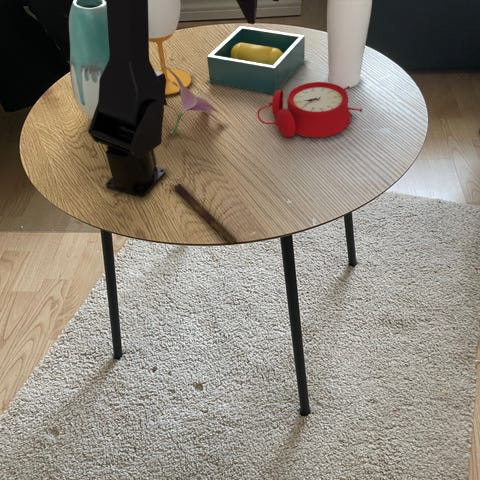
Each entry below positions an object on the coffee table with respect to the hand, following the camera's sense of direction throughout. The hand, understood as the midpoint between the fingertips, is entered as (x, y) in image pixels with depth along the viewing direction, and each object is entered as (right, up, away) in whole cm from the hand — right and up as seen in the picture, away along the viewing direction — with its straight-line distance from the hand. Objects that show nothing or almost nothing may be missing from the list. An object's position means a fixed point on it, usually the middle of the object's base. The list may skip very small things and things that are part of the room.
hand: (264, 11), depth 94 cm
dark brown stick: (-8, -34, -13) cm, 37 cm away
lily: (-11, -18, +1) cm, 21 cm away
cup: (-17, -7, +11) cm, 21 cm away
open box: (-1, -5, +12) cm, 13 cm away
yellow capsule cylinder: (-1, -4, +11) cm, 12 cm away
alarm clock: (+7, -18, 0) cm, 19 cm away
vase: (-24, -15, +5) cm, 29 cm away
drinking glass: (+14, -8, +7) cm, 18 cm away
